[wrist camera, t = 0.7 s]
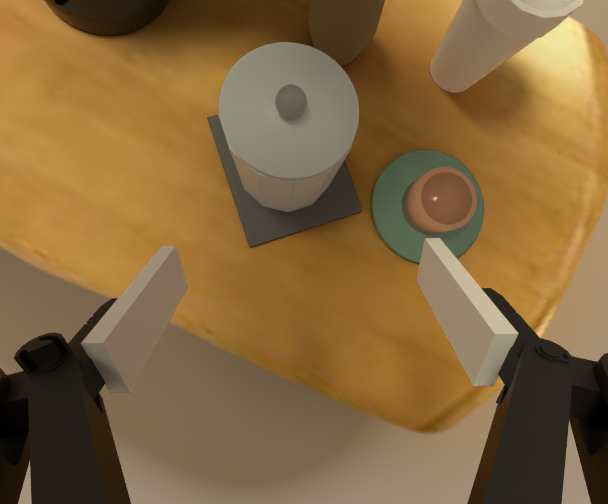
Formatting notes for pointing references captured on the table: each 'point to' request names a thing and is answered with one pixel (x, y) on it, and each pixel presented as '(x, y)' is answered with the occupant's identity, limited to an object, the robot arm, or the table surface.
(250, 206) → the mat
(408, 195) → the green and pink dish
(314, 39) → the squeeze bottle
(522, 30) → the foam cup
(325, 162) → the lidded canister
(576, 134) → the table surface
